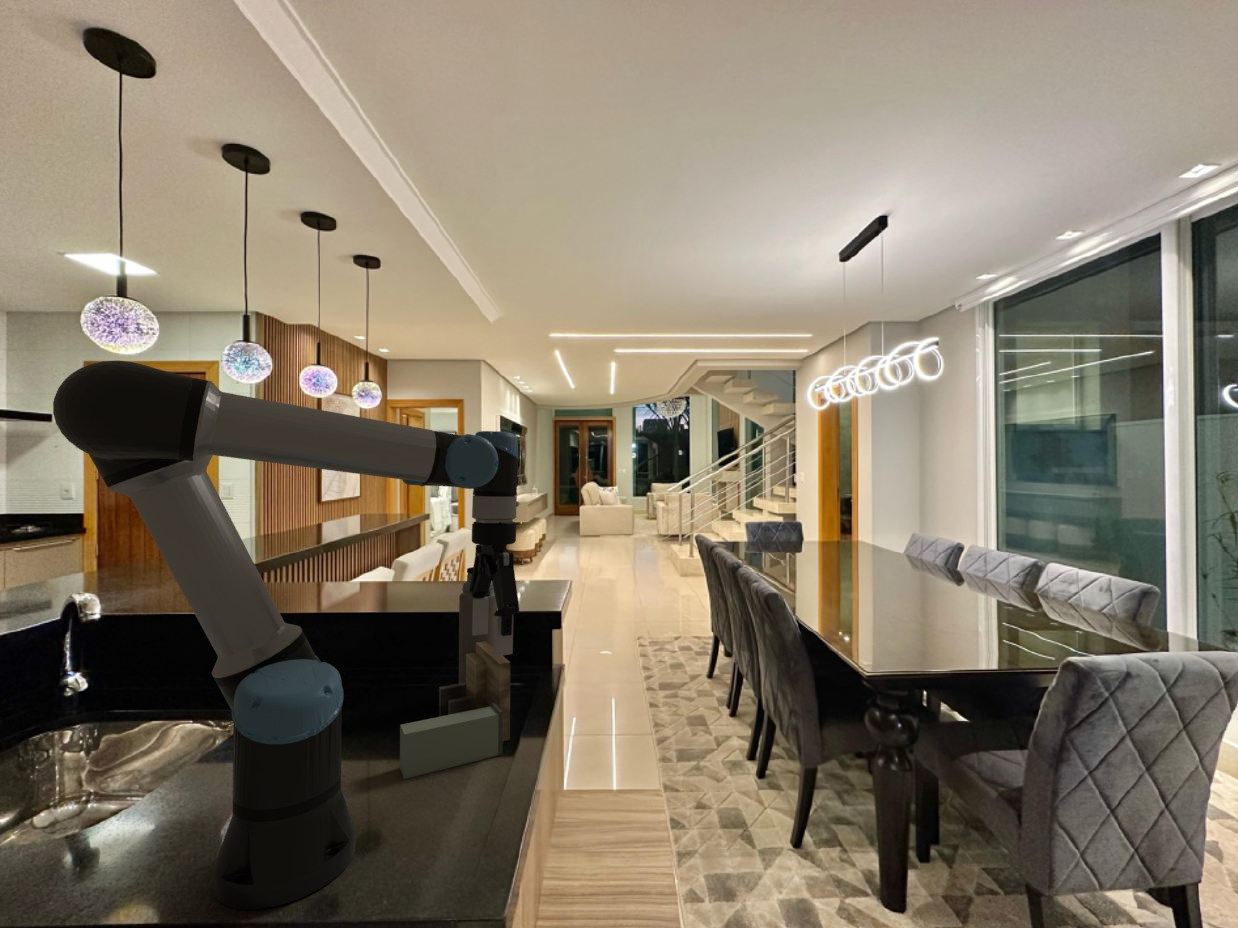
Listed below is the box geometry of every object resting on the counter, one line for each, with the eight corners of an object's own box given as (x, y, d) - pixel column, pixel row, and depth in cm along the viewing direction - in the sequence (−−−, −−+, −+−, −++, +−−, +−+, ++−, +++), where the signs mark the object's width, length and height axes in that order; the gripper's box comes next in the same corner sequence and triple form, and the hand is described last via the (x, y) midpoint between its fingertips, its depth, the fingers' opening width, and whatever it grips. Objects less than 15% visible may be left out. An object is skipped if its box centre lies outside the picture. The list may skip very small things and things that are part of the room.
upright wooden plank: (460, 751, 100) (460, 670, 101) (438, 717, 114) (439, 646, 115) (509, 739, 105) (510, 662, 105) (483, 708, 119) (484, 639, 119)
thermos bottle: (478, 688, 130) (479, 563, 130) (504, 696, 125) (505, 566, 126) (450, 700, 123) (451, 568, 123) (477, 709, 119) (478, 571, 119)
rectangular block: (404, 779, 91) (404, 732, 91) (399, 767, 95) (399, 721, 95) (502, 754, 99) (502, 711, 99) (494, 744, 103) (494, 702, 103)
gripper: (541, 525, 92) (538, 661, 91) (493, 515, 113) (490, 624, 113) (495, 526, 88) (491, 667, 87) (455, 516, 110) (451, 629, 109)
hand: (491, 643), depth 100 cm, fingers open, 13 cm apart
